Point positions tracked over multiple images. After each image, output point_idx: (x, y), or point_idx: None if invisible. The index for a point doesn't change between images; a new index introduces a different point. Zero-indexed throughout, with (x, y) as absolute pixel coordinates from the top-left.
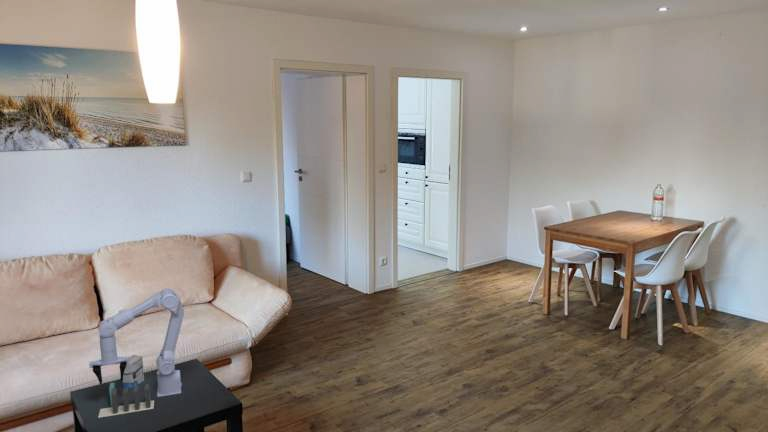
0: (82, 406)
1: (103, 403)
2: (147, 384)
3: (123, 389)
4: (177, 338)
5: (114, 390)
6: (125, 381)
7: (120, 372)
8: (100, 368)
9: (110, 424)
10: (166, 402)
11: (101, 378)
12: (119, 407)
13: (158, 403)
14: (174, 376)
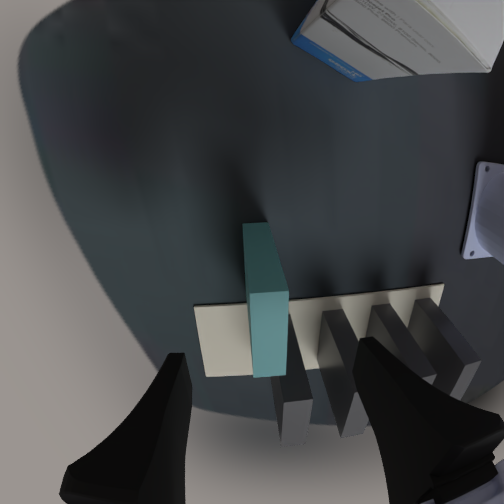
0: (83, 242)
1: (193, 238)
2: (472, 367)
3: (350, 409)
4: None
5: (296, 414)
6: (327, 47)
7: (381, 452)
8: (162, 485)
9: (266, 415)
10: (471, 307)
11: (182, 401)
12: (293, 317)
13: (448, 309)
14: None
